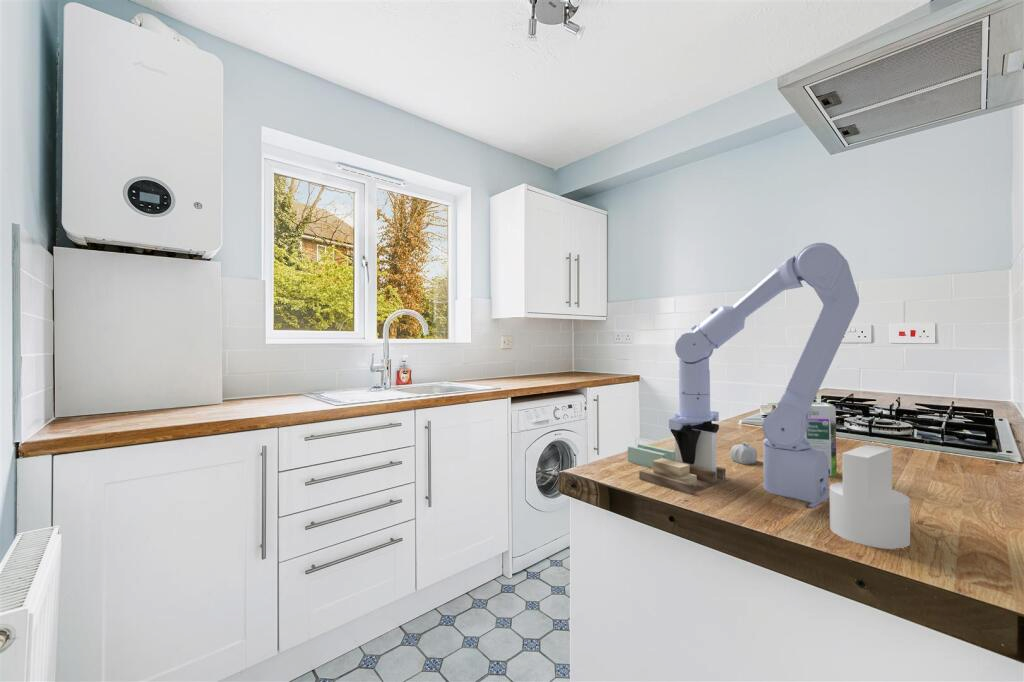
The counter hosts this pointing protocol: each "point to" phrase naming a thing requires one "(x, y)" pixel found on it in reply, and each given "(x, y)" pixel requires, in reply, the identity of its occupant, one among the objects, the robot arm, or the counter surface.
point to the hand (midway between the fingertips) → (695, 461)
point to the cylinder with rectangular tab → (869, 501)
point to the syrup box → (823, 432)
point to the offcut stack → (674, 470)
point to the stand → (648, 454)
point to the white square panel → (702, 451)
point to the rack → (703, 481)
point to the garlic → (743, 453)
